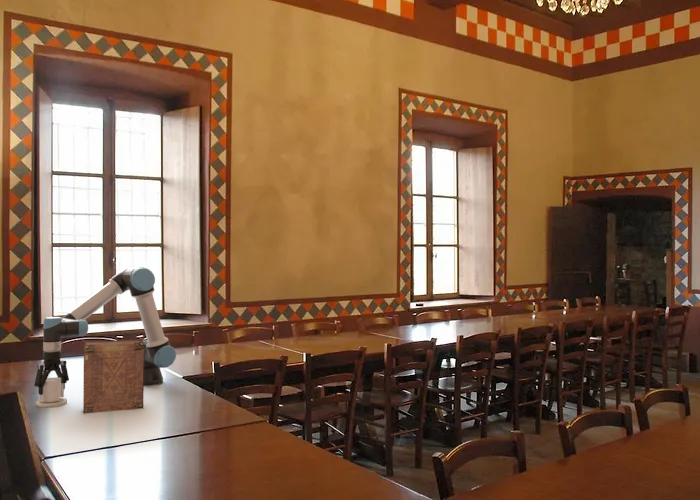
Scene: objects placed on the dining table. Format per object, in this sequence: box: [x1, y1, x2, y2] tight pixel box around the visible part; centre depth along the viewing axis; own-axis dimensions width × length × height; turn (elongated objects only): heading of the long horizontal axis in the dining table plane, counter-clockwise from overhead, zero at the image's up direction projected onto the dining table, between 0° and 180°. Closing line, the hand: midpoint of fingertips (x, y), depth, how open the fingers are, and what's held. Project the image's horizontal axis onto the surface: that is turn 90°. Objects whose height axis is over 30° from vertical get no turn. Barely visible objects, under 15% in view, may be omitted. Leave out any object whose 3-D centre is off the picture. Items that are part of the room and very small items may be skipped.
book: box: [82, 339, 145, 414], centre depth 285 cm, size 25×9×30 cm, turn 111°
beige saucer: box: [35, 397, 68, 409], centre depth 293 cm, size 13×13×2 cm
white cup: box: [44, 376, 61, 402], centre depth 293 cm, size 8×8×10 cm
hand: (51, 399), depth 293 cm, fingers open, 9 cm apart
